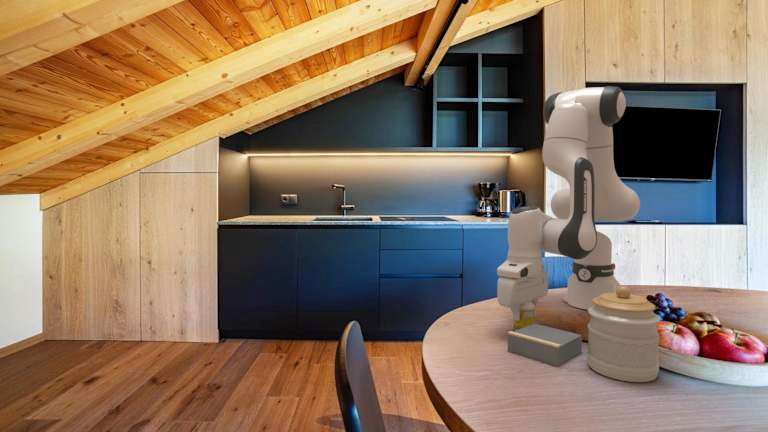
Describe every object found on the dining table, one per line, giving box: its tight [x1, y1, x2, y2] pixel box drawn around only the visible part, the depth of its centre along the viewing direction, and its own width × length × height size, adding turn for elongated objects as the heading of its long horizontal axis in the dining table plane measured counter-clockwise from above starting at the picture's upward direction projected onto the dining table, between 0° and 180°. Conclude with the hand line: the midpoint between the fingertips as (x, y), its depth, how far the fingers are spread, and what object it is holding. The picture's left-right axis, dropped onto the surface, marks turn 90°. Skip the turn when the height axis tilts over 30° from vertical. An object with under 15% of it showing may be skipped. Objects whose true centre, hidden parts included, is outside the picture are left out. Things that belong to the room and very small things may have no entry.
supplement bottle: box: [513, 296, 536, 331], centre depth 110 cm, size 5×5×10 cm
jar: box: [586, 285, 661, 383], centre depth 85 cm, size 13×13×18 cm
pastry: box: [575, 320, 590, 342], centre depth 104 cm, size 9×7×4 cm
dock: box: [507, 323, 583, 367], centre depth 95 cm, size 12×12×4 cm
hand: (524, 317), depth 110 cm, fingers closed on supplement bottle, 5 cm apart
